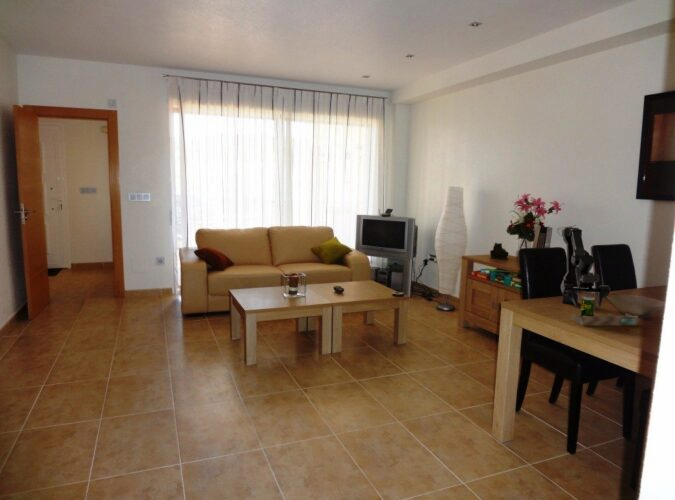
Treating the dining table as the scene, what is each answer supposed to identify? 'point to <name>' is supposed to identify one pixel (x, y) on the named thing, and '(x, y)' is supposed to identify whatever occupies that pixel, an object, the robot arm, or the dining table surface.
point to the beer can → (587, 305)
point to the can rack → (605, 320)
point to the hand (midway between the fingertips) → (588, 306)
